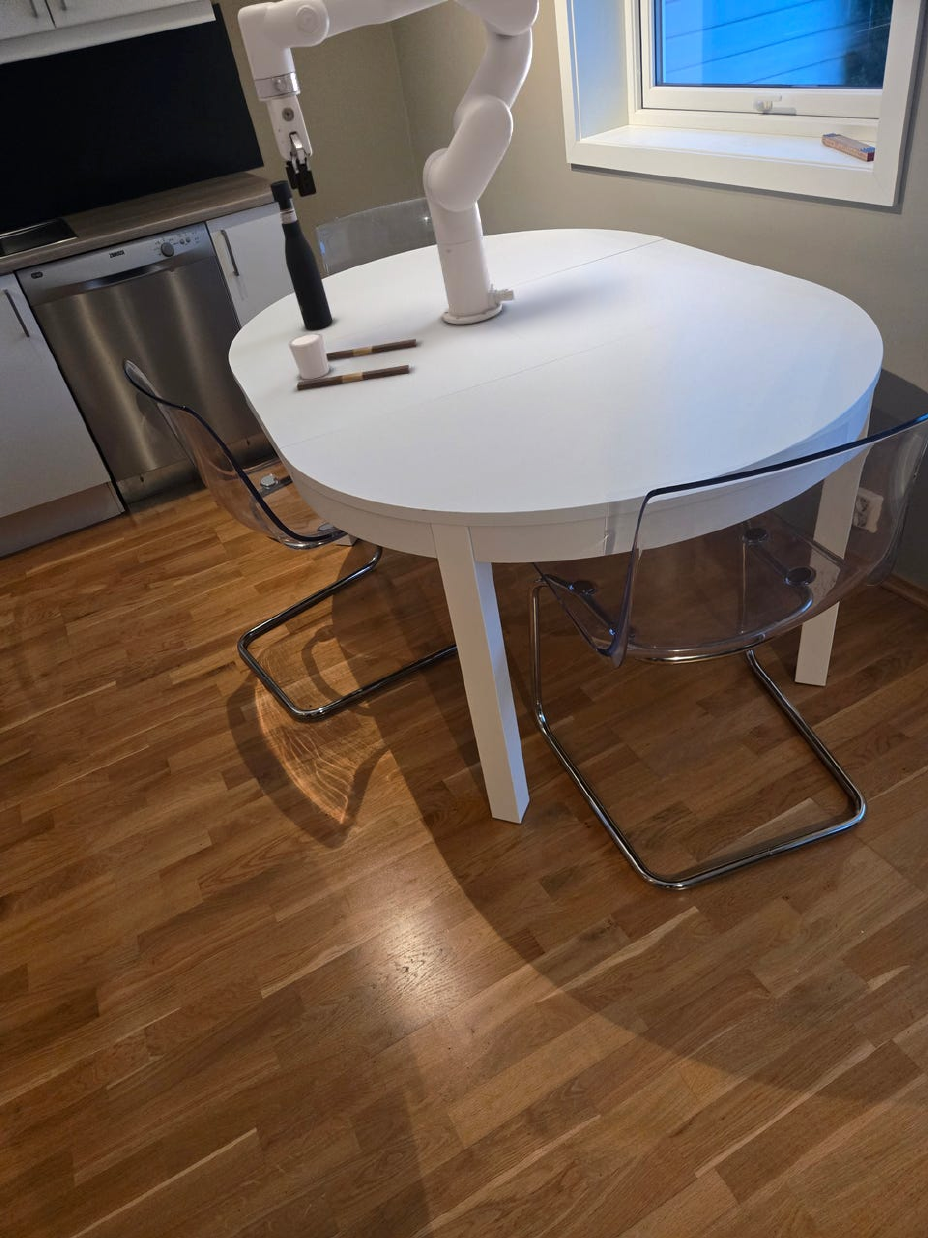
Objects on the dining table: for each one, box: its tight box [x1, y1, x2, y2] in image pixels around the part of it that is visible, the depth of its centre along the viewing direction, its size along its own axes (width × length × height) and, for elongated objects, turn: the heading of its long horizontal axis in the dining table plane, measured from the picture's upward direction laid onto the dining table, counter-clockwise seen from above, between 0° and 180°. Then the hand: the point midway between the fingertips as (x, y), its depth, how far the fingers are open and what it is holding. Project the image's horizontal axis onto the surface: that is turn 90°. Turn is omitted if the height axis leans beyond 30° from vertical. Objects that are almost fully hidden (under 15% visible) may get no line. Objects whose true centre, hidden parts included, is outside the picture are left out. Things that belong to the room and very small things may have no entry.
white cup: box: [287, 332, 330, 380], centre depth 172 cm, size 7×7×7 cm
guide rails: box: [296, 338, 417, 391], centre depth 173 cm, size 22×15×1 cm
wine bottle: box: [269, 179, 334, 331], centre depth 190 cm, size 6×6×30 cm
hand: (303, 191), depth 166 cm, fingers open, 9 cm apart
